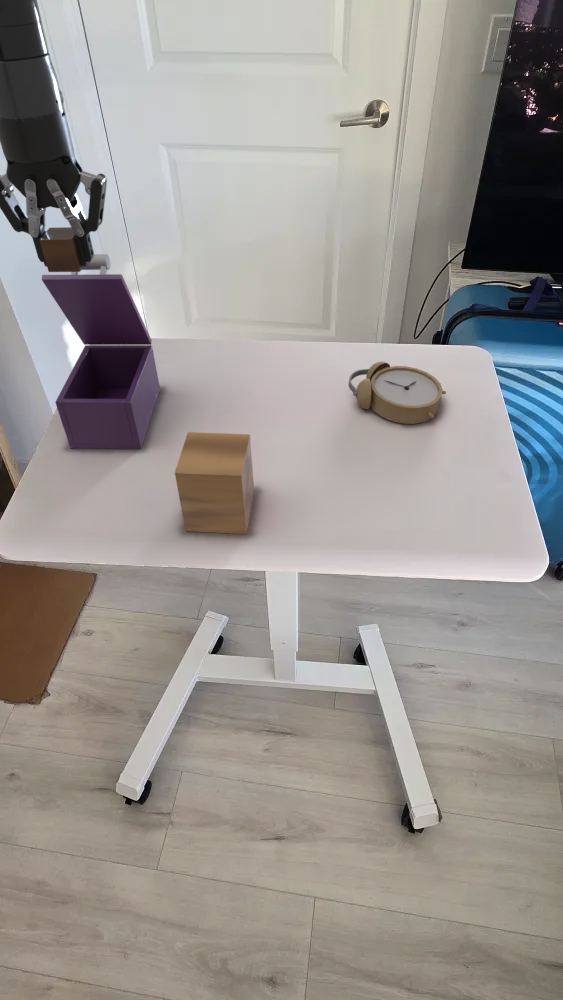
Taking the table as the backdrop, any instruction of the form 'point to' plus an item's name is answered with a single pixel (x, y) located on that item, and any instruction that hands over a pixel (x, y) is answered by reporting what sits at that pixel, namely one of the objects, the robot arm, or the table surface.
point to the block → (60, 250)
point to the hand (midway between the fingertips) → (68, 263)
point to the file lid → (99, 305)
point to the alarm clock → (398, 392)
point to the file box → (109, 397)
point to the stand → (216, 482)
